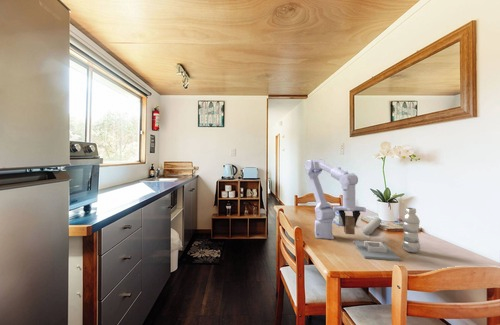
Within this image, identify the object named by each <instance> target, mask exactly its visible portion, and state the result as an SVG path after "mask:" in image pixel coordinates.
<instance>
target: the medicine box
mask: <svg viewBox="0 0 500 325" xmlns="http://www.w3.org/2000/svg"><path fill="white" fill-rule="evenodd" d="M332 223H334V224H335V225H337V226H339V227H344V226H343V222H342V218H341V216H340V214H339V212H338V211H335V218H334V219H333V221H332Z"/></svg>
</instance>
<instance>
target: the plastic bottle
mask: <svg viewBox="0 0 500 325" xmlns="http://www.w3.org/2000/svg"><path fill="white" fill-rule="evenodd" d="M416 213H417V210H416V208H414V207H406V208H405V214H404V215H403V216H402V219H401V220H402V227H403V239H402V248H403V250H405V251H407V252H410V253H412V254H415V253H419V252H420V250H421V244H420V240H419V238H420V237H419V228H420V221H421V220H420V218H419V217H418V216H417V214H416Z"/></svg>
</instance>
